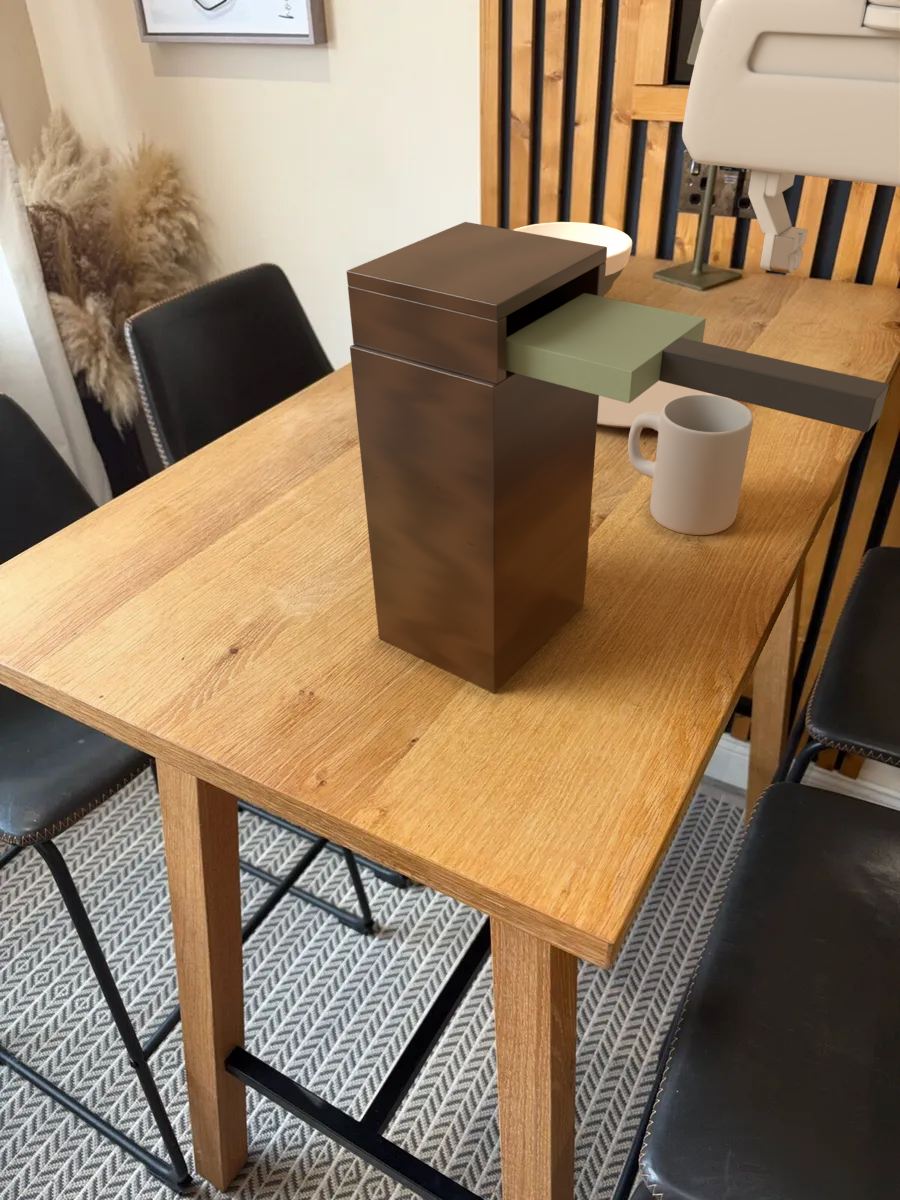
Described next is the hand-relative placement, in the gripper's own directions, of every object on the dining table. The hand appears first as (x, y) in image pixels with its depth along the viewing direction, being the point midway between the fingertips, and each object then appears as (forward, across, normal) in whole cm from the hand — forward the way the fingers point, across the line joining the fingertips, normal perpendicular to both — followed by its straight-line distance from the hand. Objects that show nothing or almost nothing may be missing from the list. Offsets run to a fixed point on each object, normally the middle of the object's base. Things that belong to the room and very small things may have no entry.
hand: (878, 285), depth 43 cm
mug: (+35, -21, +31) cm, 51 cm away
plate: (+35, -38, +52) cm, 73 cm away
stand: (+35, -26, +4) cm, 44 cm away
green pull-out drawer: (+9, -10, +5) cm, 14 cm away
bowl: (+35, -61, +75) cm, 103 cm away
